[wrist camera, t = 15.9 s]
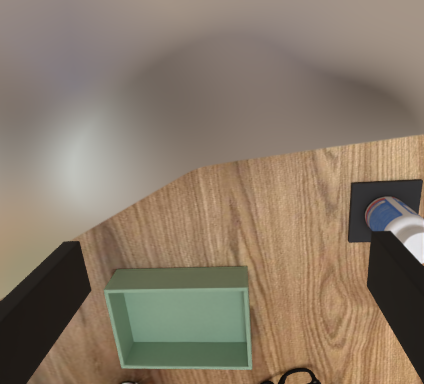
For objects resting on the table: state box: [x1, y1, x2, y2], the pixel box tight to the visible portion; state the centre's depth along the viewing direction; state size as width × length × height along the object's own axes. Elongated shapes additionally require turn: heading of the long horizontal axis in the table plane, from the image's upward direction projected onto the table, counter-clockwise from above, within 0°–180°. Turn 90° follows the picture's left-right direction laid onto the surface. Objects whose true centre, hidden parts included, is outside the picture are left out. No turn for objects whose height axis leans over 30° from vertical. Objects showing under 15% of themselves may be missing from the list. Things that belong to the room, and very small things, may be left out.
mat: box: [348, 179, 423, 243], centre depth 46 cm, size 9×9×1 cm
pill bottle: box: [365, 197, 424, 263], centre depth 41 cm, size 6×5×10 cm
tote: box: [104, 266, 252, 370], centre depth 52 cm, size 15×21×6 cm
